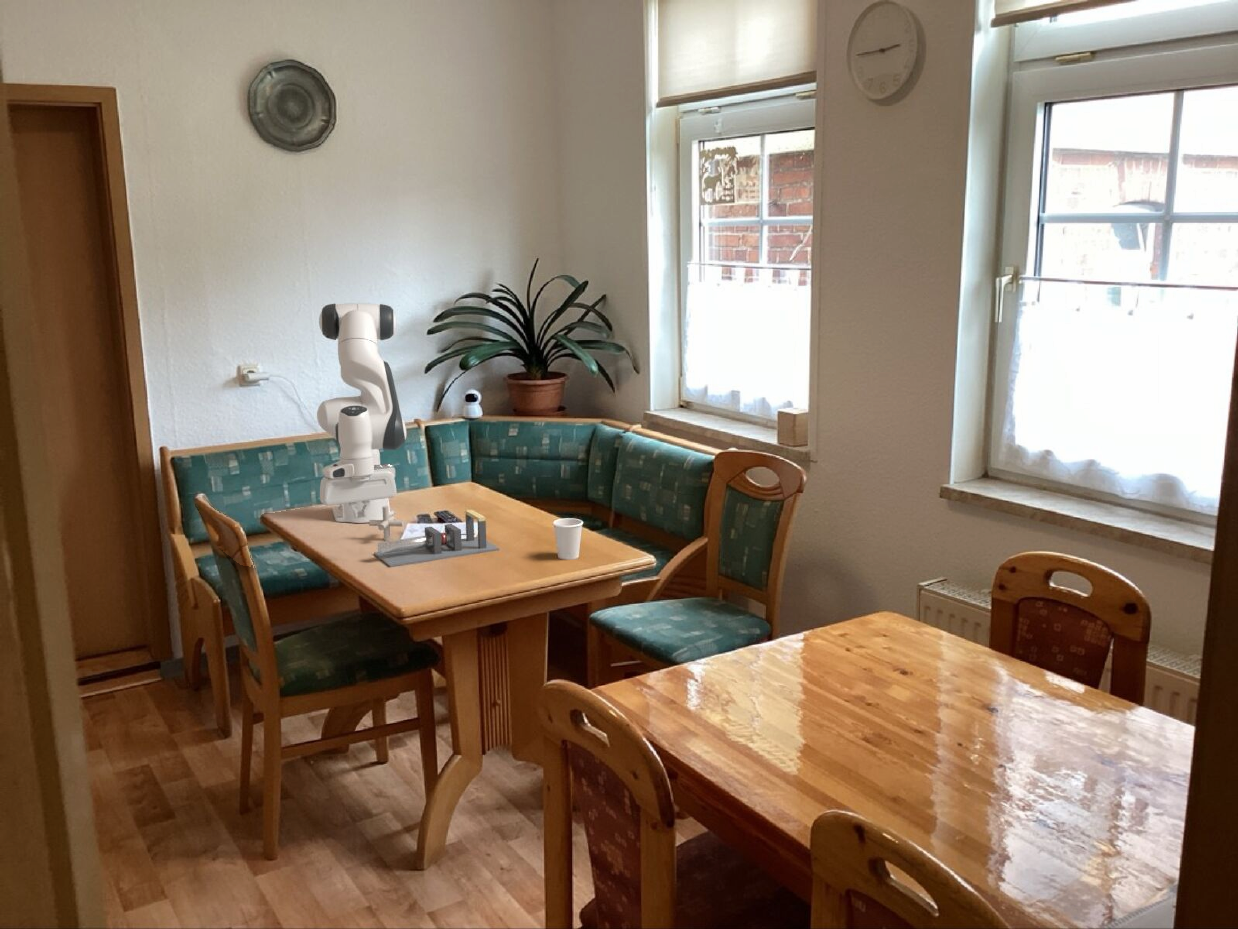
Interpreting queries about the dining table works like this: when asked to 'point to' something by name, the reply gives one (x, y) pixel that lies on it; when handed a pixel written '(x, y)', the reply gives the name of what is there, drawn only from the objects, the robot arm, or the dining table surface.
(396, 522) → the pipe connector
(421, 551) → the collar board
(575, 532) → the dixie cup
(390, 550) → the tube
